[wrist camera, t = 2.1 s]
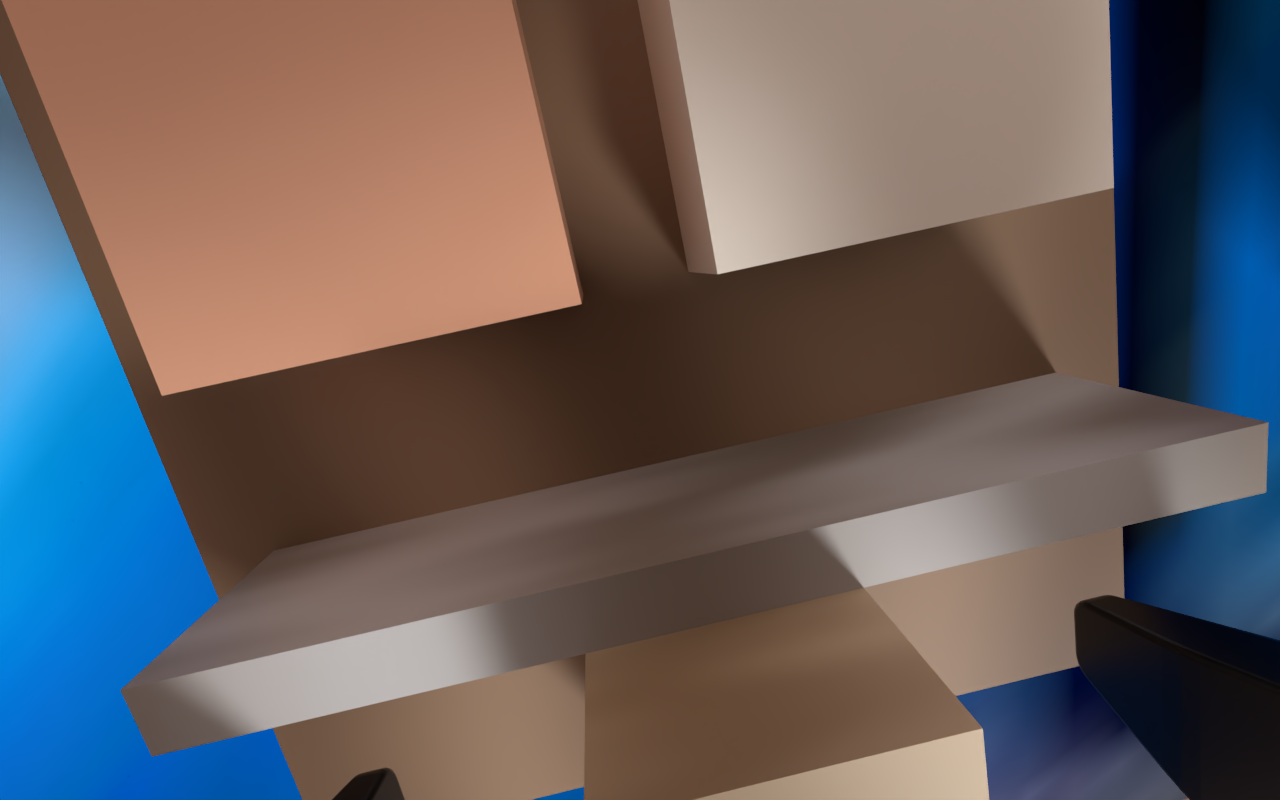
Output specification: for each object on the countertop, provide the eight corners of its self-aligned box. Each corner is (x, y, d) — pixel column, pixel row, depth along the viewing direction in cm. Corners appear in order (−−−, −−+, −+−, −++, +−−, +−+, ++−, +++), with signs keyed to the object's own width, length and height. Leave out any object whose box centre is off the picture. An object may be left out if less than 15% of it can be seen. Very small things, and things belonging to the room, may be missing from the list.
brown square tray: (896, -101, 12) (1099, -341, 7) (956, 530, 15) (1125, 654, 11) (197, 39, 12) (-79, -118, 7) (409, 659, 15) (323, 850, 10)
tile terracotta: (500, -70, 7) (468, -189, 6) (583, 295, 8) (581, 304, 7) (130, 2, 7) (-37, -94, 5) (261, 364, 8) (162, 396, 6)
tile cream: (970, -164, 8) (1100, -309, 6) (996, 204, 9) (1112, 188, 7) (619, -95, 8) (630, -220, 6) (688, 271, 9) (717, 274, 7)
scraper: (1055, 372, 9) (1565, 491, 4) (1069, 643, 10) (1489, 975, 6) (273, 550, 9) (-104, 893, 4) (374, 811, 10) (171, 1328, 5)
